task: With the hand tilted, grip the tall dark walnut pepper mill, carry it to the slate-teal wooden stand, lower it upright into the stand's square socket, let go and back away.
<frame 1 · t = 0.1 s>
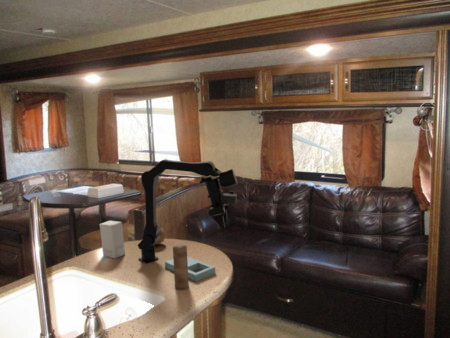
hand: (224, 225, 152), 15 cm above the counter, tool pointing down, fingers open, 9 cm apart
pepper mill: (181, 286, 130), on the counter
skincare box: (113, 255, 164), on the counter
socket stand: (189, 270, 144), on the counter
onion: (156, 245, 177), on the counter
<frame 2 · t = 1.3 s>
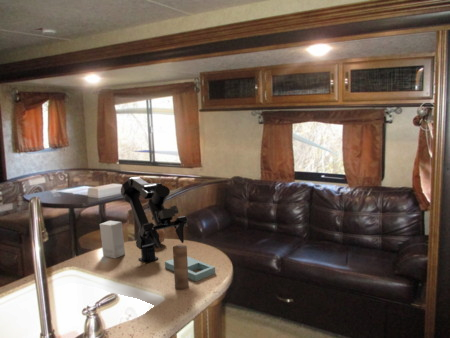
hand: (172, 245, 135), 13 cm above the counter, tool tilted 45°, fingers open, 9 cm apart
nothing on the counter moved.
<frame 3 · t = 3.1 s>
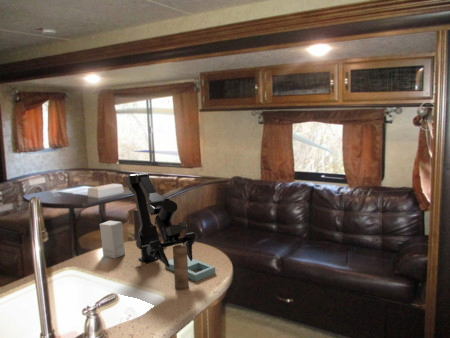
hand: (180, 263, 129), 9 cm above the counter, tool tilted 45°, fingers open, 9 cm apart
nothing on the counter moved.
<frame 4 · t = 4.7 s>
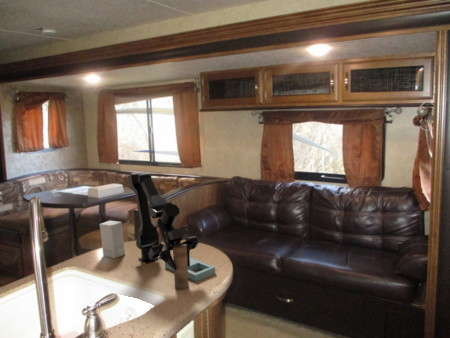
hand: (182, 267, 128), 8 cm above the counter, tool tilted 45°, fingers closed on pepper mill, 5 cm apart
pepper mill: (181, 286, 130), on the counter, touching gripper
everything else where it was.
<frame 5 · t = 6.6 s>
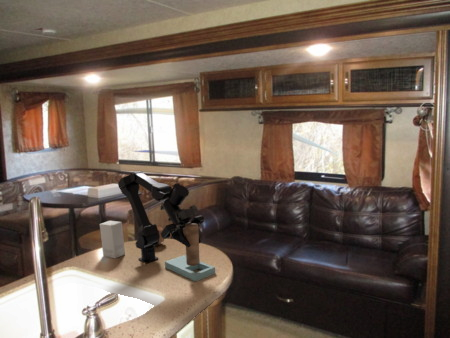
hand: (194, 244, 135), 13 cm above the counter, tool tilted 45°, fingers closed on pepper mill, 5 cm apart
pepper mill: (193, 263, 137), point 6 cm above the counter, touching gripper
everything else where it was.
when the fingers open (9 cm above the counter, at t = 8.8 s): pepper mill drops 1 cm, resting in socket stand.
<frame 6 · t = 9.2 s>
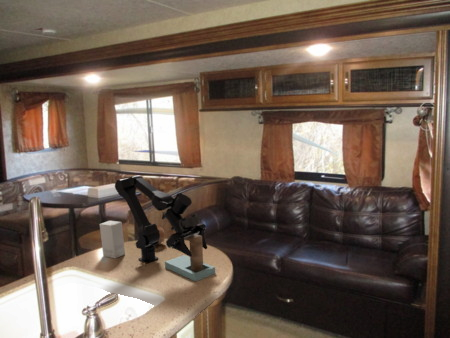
hand: (199, 252, 139), 9 cm above the counter, tool tilted 45°, fingers open, 9 cm apart
pepper mill: (197, 273, 141), resting in socket stand
everything else where it was.
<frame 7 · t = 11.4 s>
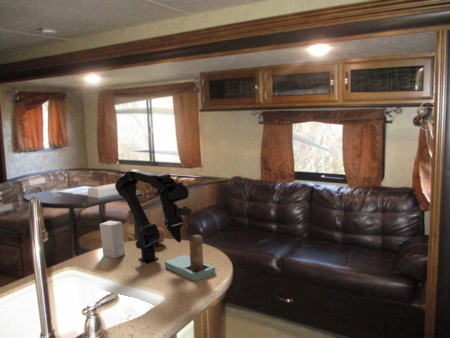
hand: (178, 241, 144), 12 cm above the counter, tool tilted 15°, fingers open, 9 cm apart
nothing on the counter moved.
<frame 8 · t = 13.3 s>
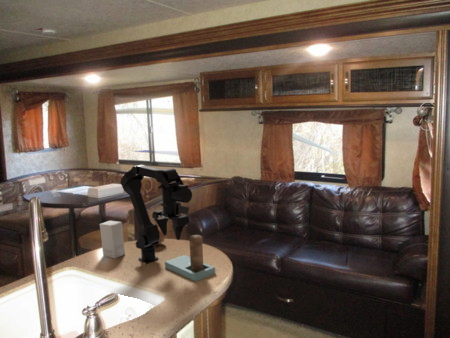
hand: (171, 237, 146), 13 cm above the counter, tool pointing down, fingers open, 9 cm apart
nothing on the counter moved.
at the end: pepper mill 0.1 cm from the target spot on the socket stand, point 0.0 cm above the socket stand's base; pepper mill tilted 0°; the gripper is holding nothing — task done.
